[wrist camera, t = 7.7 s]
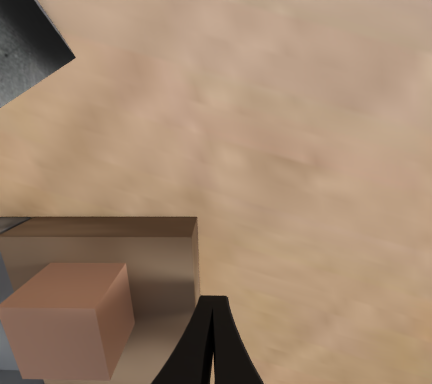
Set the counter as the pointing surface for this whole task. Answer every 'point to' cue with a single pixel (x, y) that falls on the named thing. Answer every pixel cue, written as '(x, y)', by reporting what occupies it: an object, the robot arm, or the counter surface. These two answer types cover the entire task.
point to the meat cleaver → (27, 47)
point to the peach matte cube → (70, 321)
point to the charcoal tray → (3, 356)
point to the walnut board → (136, 269)
